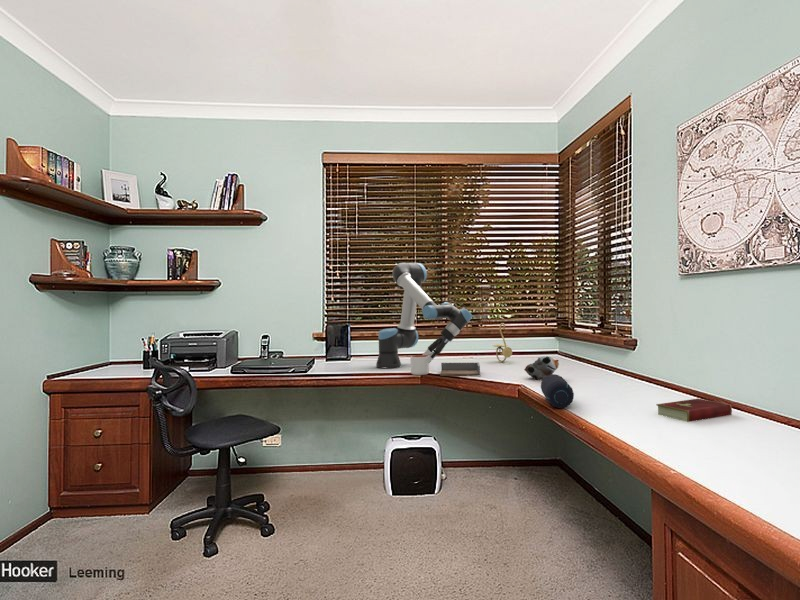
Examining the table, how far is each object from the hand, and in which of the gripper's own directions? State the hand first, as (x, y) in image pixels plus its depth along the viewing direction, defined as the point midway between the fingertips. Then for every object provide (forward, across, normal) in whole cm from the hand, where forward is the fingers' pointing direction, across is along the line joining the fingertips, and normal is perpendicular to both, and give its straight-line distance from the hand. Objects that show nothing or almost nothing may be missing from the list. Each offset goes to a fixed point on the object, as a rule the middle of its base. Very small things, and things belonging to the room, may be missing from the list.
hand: (424, 360), depth 277 cm
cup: (+7, +1, -4) cm, 8 cm away
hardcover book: (-42, -118, -55) cm, 137 cm away
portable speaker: (-18, -88, -29) cm, 95 cm away
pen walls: (-9, -5, -18) cm, 21 cm away
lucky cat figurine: (-32, -31, -44) cm, 63 cm away
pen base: (-8, -5, -19) cm, 21 cm away
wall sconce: (-35, +35, -47) cm, 68 cm away
